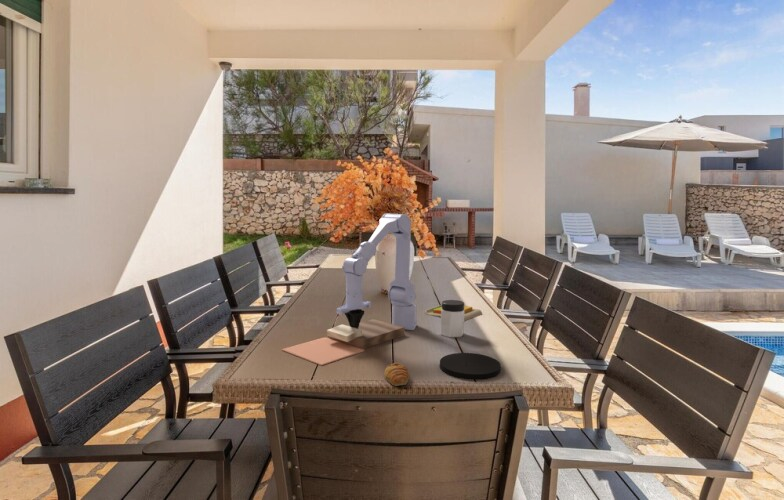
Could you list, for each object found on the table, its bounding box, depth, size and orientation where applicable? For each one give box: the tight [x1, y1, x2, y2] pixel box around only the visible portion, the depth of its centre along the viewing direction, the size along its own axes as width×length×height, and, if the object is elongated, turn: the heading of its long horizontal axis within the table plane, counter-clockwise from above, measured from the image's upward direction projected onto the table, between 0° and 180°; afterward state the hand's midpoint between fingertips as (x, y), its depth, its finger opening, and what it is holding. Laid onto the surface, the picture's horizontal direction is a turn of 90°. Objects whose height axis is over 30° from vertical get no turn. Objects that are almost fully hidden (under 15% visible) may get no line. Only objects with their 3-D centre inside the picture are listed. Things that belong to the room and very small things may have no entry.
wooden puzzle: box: [424, 304, 483, 322], centre depth 204 cm, size 18×19×4 cm
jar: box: [440, 299, 465, 338], centre depth 174 cm, size 9×8×12 cm
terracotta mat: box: [281, 336, 365, 366], centre depth 154 cm, size 18×20×1 cm
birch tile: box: [326, 324, 362, 342], centre depth 161 cm, size 7×10×2 cm
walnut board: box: [328, 318, 406, 350], centre depth 169 cm, size 22×16×3 cm
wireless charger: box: [439, 352, 502, 381], centre depth 141 cm, size 18×18×2 cm
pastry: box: [383, 362, 410, 387], centre depth 131 cm, size 9×7×4 cm
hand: (354, 331), depth 164 cm, fingers closed
